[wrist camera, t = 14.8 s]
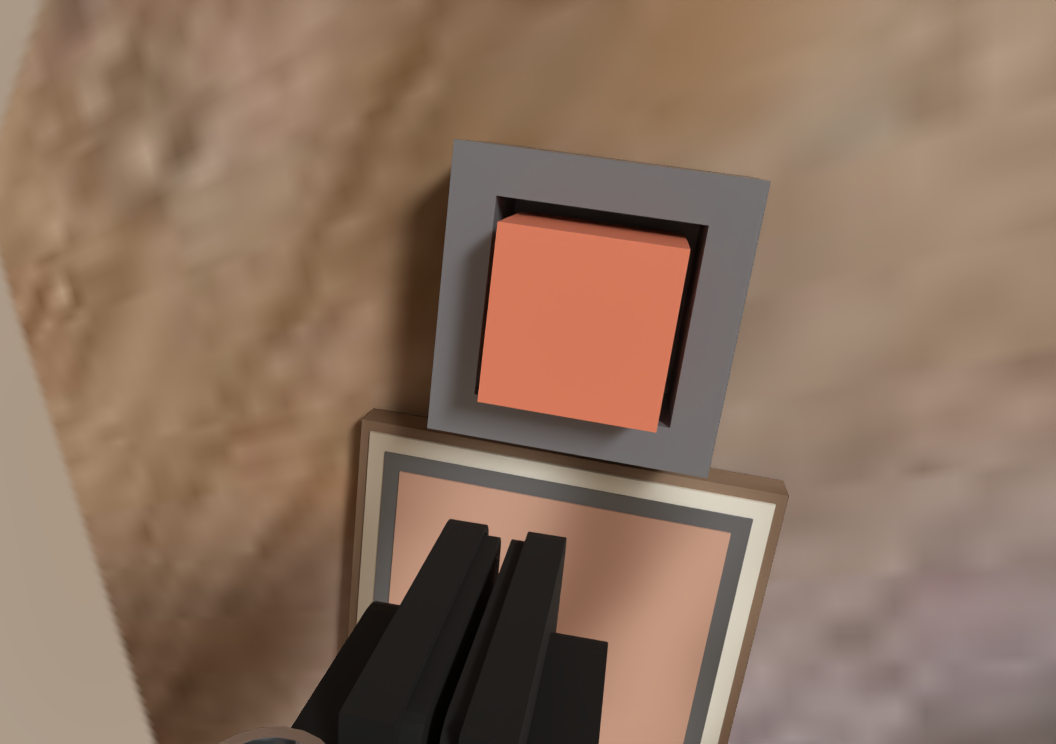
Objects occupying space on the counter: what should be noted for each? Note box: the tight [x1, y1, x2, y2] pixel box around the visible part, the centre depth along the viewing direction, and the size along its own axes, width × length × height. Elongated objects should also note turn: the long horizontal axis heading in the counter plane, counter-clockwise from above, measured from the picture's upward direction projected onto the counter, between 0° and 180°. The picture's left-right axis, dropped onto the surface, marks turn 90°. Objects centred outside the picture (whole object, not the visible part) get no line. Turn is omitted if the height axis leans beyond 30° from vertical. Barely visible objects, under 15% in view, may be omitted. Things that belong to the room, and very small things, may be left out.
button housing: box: [427, 139, 771, 478], centre depth 19 cm, size 7×7×3 cm
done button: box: [477, 211, 691, 433], centre depth 18 cm, size 4×4×3 cm
